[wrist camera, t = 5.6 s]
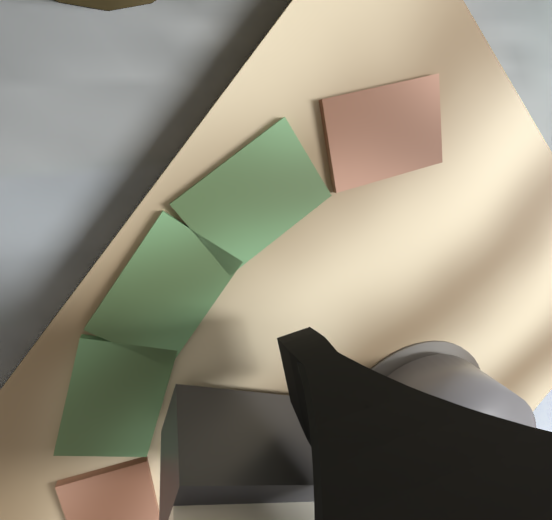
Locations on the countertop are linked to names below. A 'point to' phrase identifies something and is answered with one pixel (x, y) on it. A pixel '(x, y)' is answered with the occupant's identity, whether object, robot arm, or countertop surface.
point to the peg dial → (281, 443)
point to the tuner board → (298, 248)
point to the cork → (107, 3)
